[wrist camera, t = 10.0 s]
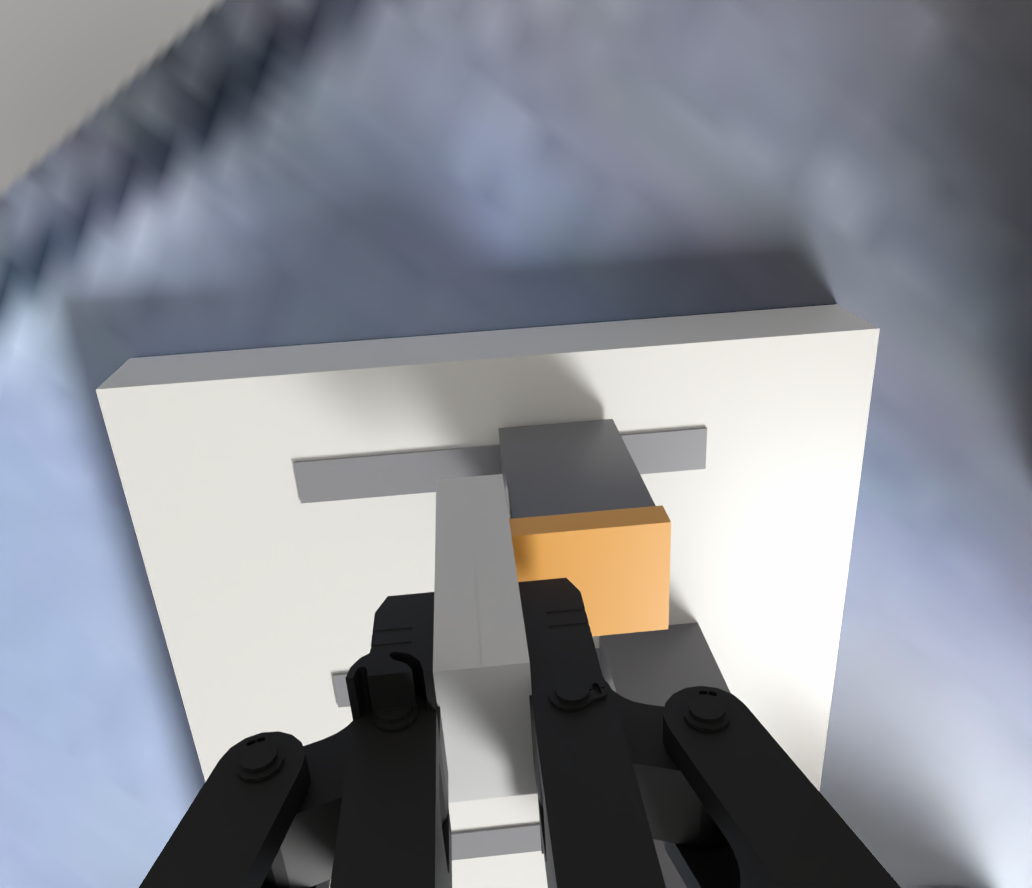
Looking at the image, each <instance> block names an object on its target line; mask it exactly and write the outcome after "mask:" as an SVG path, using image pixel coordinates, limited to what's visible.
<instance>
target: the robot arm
mask: <svg viewBox="0 0 1032 888" xmlns="http://www.w3.org/2000/svg"><path fill="white" fill-rule="evenodd" d="M345 679H346V684H347V690H348V696H349V701H350V707H351V712H352V718H353V721H352V722H351V723H350V724H349V725H348V726H347V727H345V728H344V729H342V730H341V731H339V732H338V733H336V734H334V735H332V736H329V737H327V738H325V739H322V740H319V741H317V742H314V743H311V744H308V745H305V746H303V745H302V742H301V741H299V740H298V739H297V738H296V737H295V736H293V735H291V734H287V733H283V732H279V731H276V732H262V733H259V734H256V735H253V736H250V737H247V738H245V739H243V740H242V741H240V742H239V743H237V744H235V745H234V746H232V747H231V748H230V749H229V750H228V751H227V752H226V753H225V754H224V755H223V757H222V758H221V759H220V760H219V761H218V763H217V765H216V766H215V768H214V769H213V771H212V773H211V774H210V776H209V777H208V779H207V781H206V782H205V784H204V785H203V787H202V788H201V790H200V792H199V793H198V795H197V796H196V798H195V800H194V801H193V803H192V804H191V806H190V807H189V809H188V811H187V812H186V814H185V815H184V817H183V819H182V820H181V822H180V823H179V825H178V827H177V828H176V830H175V831H174V833H173V834H172V836H171V838H170V839H169V841H168V842H167V844H166V846H165V847H164V849H163V850H162V852H161V853H160V855H159V857H158V858H157V860H156V861H155V863H154V865H153V866H152V868H151V869H150V871H149V873H148V874H147V876H146V877H145V879H144V880H143V882H142V884H141V885H140V887H139V888H329V886H330V888H452V836H451V823H450V815H449V803H452V802H462V801H471V800H480V799H490V798H499V797H509V796H518V795H527V794H537V793H538V805H539V821H540V836H541V851H542V854H544V861H545V869H546V877H547V885H548V888H666V885H665V882H664V878H663V874H662V871H661V867H660V863H659V859H658V856H657V852H656V848H655V845H654V841H653V839H655V840H660V841H662V842H663V845H664V848H665V851H666V852H667V854H668V856H669V857H670V859H671V861H672V863H673V864H674V866H675V868H676V869H677V871H678V873H679V875H680V876H681V878H682V880H683V881H684V883H685V885H686V887H687V888H900V886H899V885H898V884H897V883H896V882H895V880H894V879H893V878H892V877H891V876H890V875H889V873H888V872H887V871H886V870H885V869H884V868H883V866H882V865H881V864H880V863H879V862H878V860H877V859H876V858H875V857H874V856H873V855H872V853H871V852H870V851H869V850H868V849H867V848H866V846H865V845H864V844H863V843H862V842H861V840H860V839H859V838H858V837H857V836H856V835H855V833H854V832H853V831H852V830H851V829H850V827H849V826H848V825H847V824H846V823H845V822H844V820H843V819H842V818H841V817H840V816H839V815H838V813H837V812H836V811H835V810H834V809H833V807H832V806H831V805H830V804H829V803H828V802H827V800H826V799H825V798H824V797H823V796H822V794H821V793H820V792H819V791H818V790H817V789H816V787H815V786H814V785H813V784H812V783H811V782H810V780H809V779H808V778H807V777H806V776H805V774H804V773H803V772H802V771H801V770H800V769H799V767H798V766H797V765H796V764H795V763H794V762H793V760H792V759H791V758H790V757H789V756H788V754H787V753H786V752H785V751H784V750H783V749H782V747H781V746H780V745H779V744H778V743H777V741H776V740H775V739H774V738H773V737H772V736H771V734H770V733H769V732H768V731H767V730H766V729H765V727H764V726H763V725H762V724H761V723H760V721H759V720H758V719H757V718H756V717H755V716H754V714H753V713H752V712H751V711H750V710H749V709H748V707H747V706H746V705H745V704H744V703H743V702H742V701H740V700H739V699H738V698H737V697H736V696H734V695H733V694H731V693H729V692H726V691H724V690H721V689H719V688H714V687H707V686H696V687H688V688H684V689H682V690H680V691H678V692H676V693H674V694H672V696H671V697H670V698H669V699H668V700H667V701H666V703H665V706H664V707H663V706H656V705H649V704H643V703H639V702H634V701H631V700H629V699H627V698H624V697H622V696H620V695H619V694H618V693H616V692H615V691H613V690H612V689H611V687H610V686H609V684H608V682H606V681H605V679H604V677H603V675H602V671H601V668H600V664H599V660H598V656H597V652H596V648H595V645H594V641H593V637H592V633H591V629H590V626H589V622H588V618H587V614H586V612H585V607H584V603H583V599H582V595H581V592H580V591H579V590H578V589H577V588H576V587H575V586H574V585H573V584H572V583H571V582H570V581H569V580H568V579H567V578H556V579H545V580H535V581H524V582H518V578H517V571H516V564H515V557H514V551H513V544H512V537H511V530H510V523H509V516H508V509H507V502H506V495H505V489H504V482H503V475H502V474H496V475H485V476H473V477H462V478H451V479H439V480H436V530H435V584H434V592H427V593H416V594H405V595H395V596H387V598H386V599H385V600H384V602H383V603H382V604H381V606H380V607H379V608H378V610H377V611H376V612H375V616H374V624H373V634H372V639H371V649H370V653H369V654H367V655H365V656H363V657H361V658H360V659H359V660H358V661H356V662H355V663H354V664H353V665H352V666H351V667H350V669H349V671H348V674H347V676H346V678H345ZM330 881H331V882H330Z"/></svg>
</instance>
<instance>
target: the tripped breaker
mask: <svg viewBox="0 0 1032 888" xmlns="http://www.w3.org/2000/svg"><path fill="white" fill-rule="evenodd" d="M498 431H499V445H500V460H501V474H502V475H503V482H504V489H505V495H506V502H507V509H508V516H509V523H510V530H511V537H512V544H513V551H514V557H515V564H516V571H517V578H518V582H524V581H535V580H545V579H556V578H567V579H568V580H569V581H570V582H571V583H572V584H573V585H574V586H575V587H576V588H577V589H578V590H579V591H580V592H581V595H582V599H583V603H584V607H585V612H586V614H587V618H588V622H589V626H590V629H591V633H592V636H603V635H613V634H623V633H634V632H644V631H655V630H665V629H668V626H669V587H670V548H671V521H670V519H669V517H668V515H667V513H666V511H665V509H664V507H663V505H662V506H656V505H655V503H654V501H653V499H652V497H651V495H650V493H649V491H648V489H647V487H646V485H645V483H644V481H643V479H642V477H641V475H640V473H639V471H638V469H637V467H636V465H635V463H634V461H633V459H632V457H631V455H630V453H629V451H628V449H627V447H626V445H625V443H624V441H623V439H622V437H621V435H620V433H619V431H618V429H617V427H616V425H615V423H614V421H613V419H603V420H591V421H579V422H567V423H555V424H542V425H530V426H518V427H506V428H498Z"/></svg>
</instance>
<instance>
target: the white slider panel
mask: <svg viewBox="0 0 1032 888" xmlns="http://www.w3.org/2000/svg"><path fill="white" fill-rule="evenodd" d="M879 330H880V328H878V327H876V326H875V325H873V324H871V323H869V322H868V321H866V320H864V319H863V318H861V317H859V316H857V315H856V314H854V313H852V312H850V311H849V310H847V309H845V308H844V307H842V306H840V305H838V304H835V305H821V306H808V307H795V308H782V309H769V310H756V311H743V312H729V313H716V314H703V315H690V316H677V317H664V318H650V319H637V320H624V321H611V322H598V323H585V324H572V325H558V326H545V327H532V328H519V329H506V330H493V331H479V332H466V333H453V334H440V335H427V336H414V337H401V338H387V339H374V340H361V341H348V342H335V343H322V344H309V345H295V346H282V347H269V348H256V349H243V350H230V351H216V352H203V353H190V354H177V355H164V356H151V357H138V358H130V359H128V360H127V361H126V362H125V363H124V364H123V365H122V366H121V367H120V368H119V369H117V370H116V371H115V372H114V373H113V374H112V375H111V376H110V377H109V378H108V379H106V380H105V381H104V382H103V383H102V384H101V385H100V386H99V387H98V388H97V389H96V393H97V397H98V400H99V404H100V407H101V411H102V414H103V418H104V422H105V425H106V429H107V432H108V436H109V439H110V443H111V447H112V450H113V454H114V457H115V461H116V464H117V468H118V472H119V475H120V479H121V482H122V486H123V489H124V493H125V497H126V500H127V504H128V507H129V511H130V514H131V518H132V522H133V525H134V529H135V532H136V536H137V539H138V543H139V547H140V550H141V554H142V557H143V561H144V564H145V568H146V572H147V575H148V579H149V582H150V586H151V590H152V593H153V597H154V600H155V604H156V607H157V611H158V615H159V618H160V622H161V625H162V629H163V632H164V636H165V640H166V643H167V647H168V650H169V654H170V657H171V661H172V665H173V668H174V672H175V675H176V679H177V682H178V686H179V690H180V693H181V697H182V700H183V704H184V707H185V711H186V715H187V718H188V722H189V725H190V729H191V732H192V736H193V740H194V743H195V747H196V750H197V754H198V757H199V761H200V765H201V768H202V772H203V775H204V779H205V782H206V781H207V779H208V777H209V776H210V774H211V773H212V771H213V769H214V768H215V766H216V765H217V763H218V761H219V760H220V759H221V758H222V757H223V755H224V754H225V753H226V752H227V751H228V750H229V749H230V748H231V747H232V746H234V745H235V744H237V743H239V742H240V741H242V740H243V739H245V738H247V737H250V736H253V735H256V734H259V733H262V732H276V731H279V732H283V733H287V734H291V735H293V736H295V737H296V738H297V739H298V740H299V741H301V742H302V745H303V746H305V745H308V744H311V743H314V742H317V741H319V740H322V739H325V738H327V737H329V736H332V735H334V734H336V733H338V732H339V731H341V730H342V729H344V728H345V727H347V726H348V725H349V724H350V723H351V722H352V721H353V718H352V712H351V707H350V701H349V696H348V690H347V684H346V679H345V678H346V676H347V674H348V671H349V669H350V667H351V666H352V665H353V664H354V663H355V662H356V661H358V660H359V659H360V658H361V657H363V656H365V655H367V654H369V653H370V649H371V639H372V634H373V624H374V616H375V612H376V611H377V610H378V608H379V607H380V606H381V604H382V603H383V602H384V600H385V599H386V598H387V596H395V595H405V594H416V593H427V592H434V584H435V530H436V480H439V479H451V478H462V477H473V476H485V475H496V474H501V460H500V445H499V431H498V428H506V427H518V426H530V425H542V424H555V423H567V422H579V421H591V420H603V419H613V421H614V423H615V425H616V427H617V429H618V431H619V433H620V435H621V437H622V439H623V441H624V443H625V445H626V447H627V449H628V451H629V453H630V455H631V457H632V459H633V461H634V463H635V465H636V467H637V469H638V471H639V473H640V475H641V477H642V479H643V481H644V483H645V485H646V487H647V489H648V491H649V493H650V495H651V497H652V499H653V501H654V503H655V505H656V506H662V505H663V507H664V509H665V511H666V513H667V515H668V517H669V519H670V521H671V548H670V587H669V626H668V629H665V630H655V631H644V632H634V633H623V634H613V635H603V636H592V637H593V641H594V645H595V648H596V652H597V656H598V660H599V664H600V668H601V671H602V675H603V677H604V679H605V681H606V682H608V684H609V686H610V687H611V689H612V690H613V691H615V692H616V693H618V694H619V695H620V696H622V697H624V698H627V699H629V700H631V701H634V702H639V703H643V704H649V705H656V706H663V707H664V706H665V703H666V701H667V700H668V699H669V698H670V697H671V696H672V694H674V693H676V692H678V691H680V690H682V689H684V688H688V687H696V686H707V687H714V688H719V689H721V690H724V691H726V692H729V693H731V694H733V695H734V696H736V697H737V698H738V699H739V700H740V701H742V702H743V703H744V704H745V705H746V706H747V707H748V709H749V710H750V711H751V712H752V713H753V714H754V716H755V717H756V718H757V719H758V720H759V721H760V723H761V724H762V725H763V726H764V727H765V729H766V730H767V731H768V732H769V733H770V734H771V736H772V737H773V738H774V739H775V740H776V741H777V743H778V744H779V745H780V746H781V747H782V749H783V750H784V751H785V752H786V753H787V754H788V756H789V757H790V758H791V759H792V760H793V762H794V763H795V764H796V765H797V766H798V767H799V769H800V770H801V771H802V772H803V773H804V774H805V776H806V777H807V778H808V779H809V780H810V782H811V783H812V784H813V785H814V786H815V787H816V789H817V790H818V791H819V792H820V785H821V777H822V769H823V761H824V754H825V746H826V738H827V731H828V723H829V715H830V707H831V700H832V692H833V684H834V677H835V669H836V661H837V653H838V646H839V638H840V630H841V623H842V615H843V607H844V600H845V592H846V584H847V576H848V569H849V561H850V553H851V546H852V538H853V530H854V522H855V515H856V507H857V499H858V492H859V484H860V476H861V468H862V461H863V453H864V445H865V438H866V430H867V422H868V415H869V407H870V399H871V391H872V384H873V376H874V368H875V361H876V353H877V345H878V337H879ZM449 815H450V823H451V836H452V888H548V885H547V877H546V869H545V861H544V854H542V851H541V836H540V821H539V805H538V793H537V794H527V795H518V796H509V797H499V798H490V799H480V800H471V801H462V802H452V803H449ZM653 841H654V845H655V848H656V852H657V856H658V859H659V863H660V867H661V871H662V874H663V878H664V882H665V885H666V888H687V887H686V885H685V883H684V881H683V880H682V878H681V876H680V875H679V873H678V871H677V869H676V868H675V866H674V864H673V863H672V861H671V859H670V857H669V856H668V854H667V852H666V851H665V848H664V845H663V842H662V841H660V840H655V839H653ZM330 882H331V881H330ZM329 888H330V886H329Z"/></svg>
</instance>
